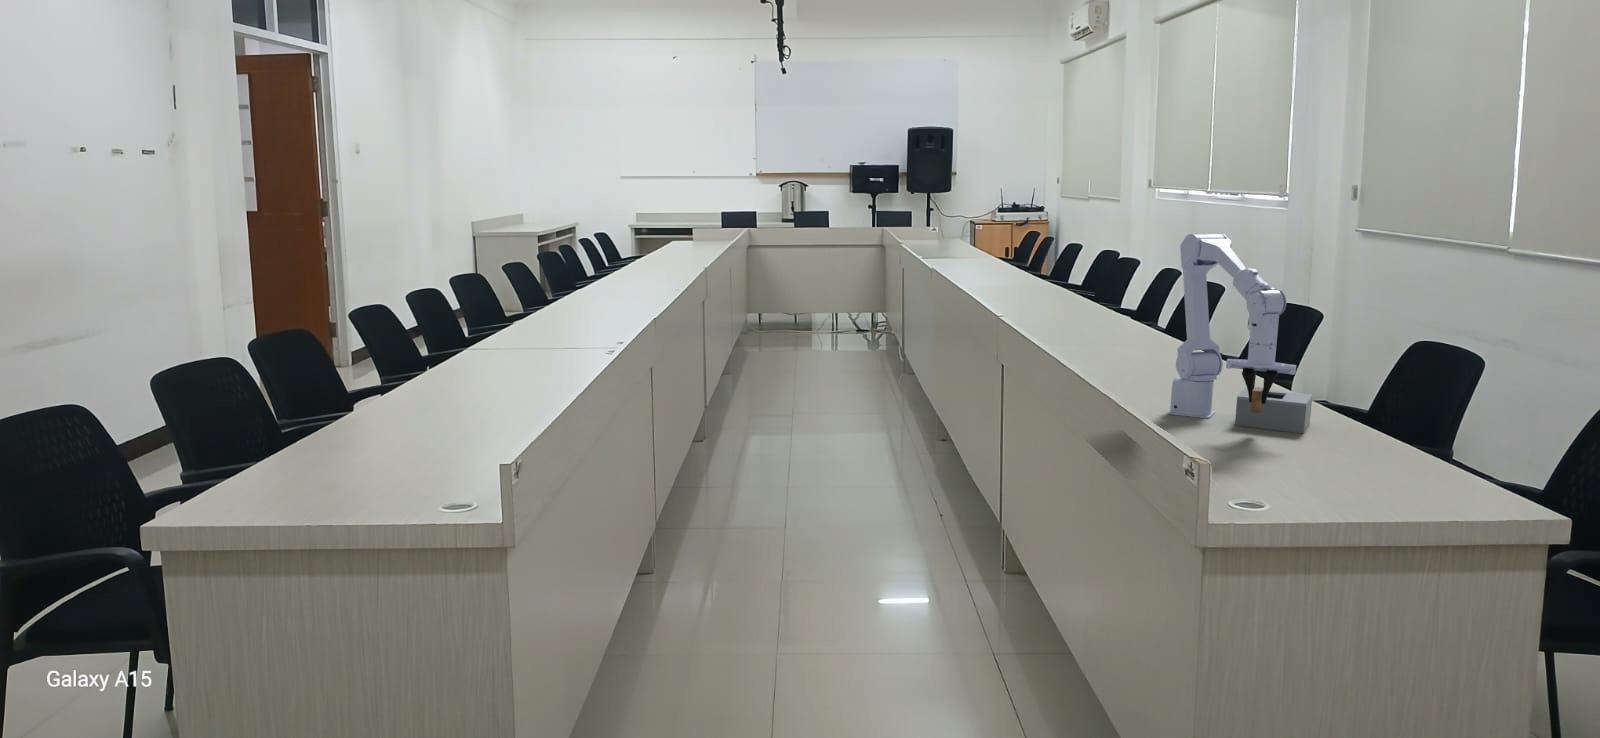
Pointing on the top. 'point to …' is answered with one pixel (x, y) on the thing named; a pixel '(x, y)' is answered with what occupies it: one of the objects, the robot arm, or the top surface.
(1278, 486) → the top surface
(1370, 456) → the top surface
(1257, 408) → the brown wooden block
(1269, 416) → the ballot box
